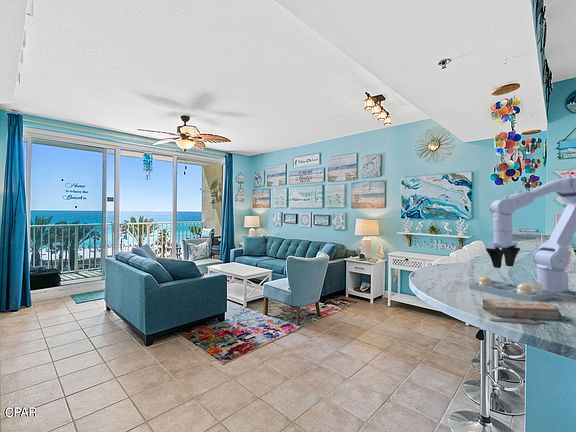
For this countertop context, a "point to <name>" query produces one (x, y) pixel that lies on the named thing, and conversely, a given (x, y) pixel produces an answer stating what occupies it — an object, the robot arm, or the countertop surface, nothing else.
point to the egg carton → (511, 291)
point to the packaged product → (518, 311)
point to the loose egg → (485, 281)
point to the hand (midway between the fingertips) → (503, 266)
